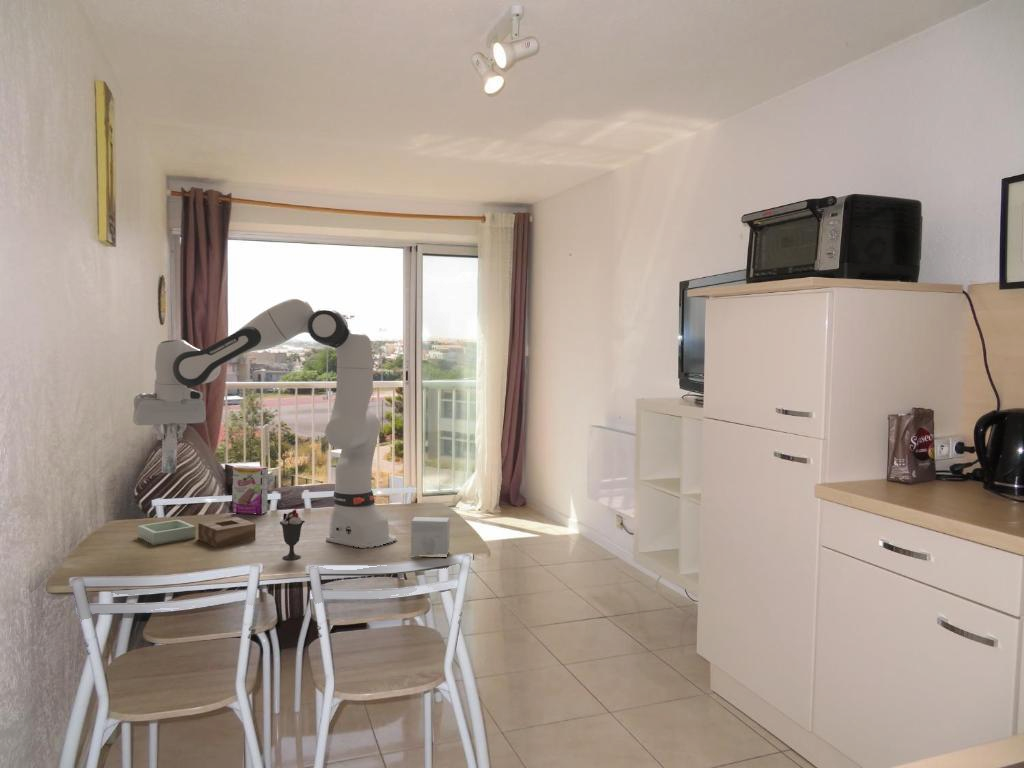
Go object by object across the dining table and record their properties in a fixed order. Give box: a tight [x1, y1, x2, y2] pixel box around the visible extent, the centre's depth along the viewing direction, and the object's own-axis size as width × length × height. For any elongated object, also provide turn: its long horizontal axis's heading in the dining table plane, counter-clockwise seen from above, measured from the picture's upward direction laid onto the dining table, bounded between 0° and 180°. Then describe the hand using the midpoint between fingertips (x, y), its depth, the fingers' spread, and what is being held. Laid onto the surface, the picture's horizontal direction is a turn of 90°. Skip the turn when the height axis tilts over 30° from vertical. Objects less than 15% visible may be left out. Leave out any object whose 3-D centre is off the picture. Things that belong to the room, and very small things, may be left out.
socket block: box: [197, 516, 257, 548], centre depth 213 cm, size 12×12×5 cm
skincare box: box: [410, 516, 451, 557], centre depth 203 cm, size 10×6×10 cm, turn 89°
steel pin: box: [161, 423, 178, 474], centre depth 213 cm, size 4×4×15 cm
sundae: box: [279, 504, 305, 561], centre depth 196 cm, size 7×7×15 cm
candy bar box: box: [231, 465, 269, 515], centre depth 248 cm, size 11×5×16 cm, turn 84°
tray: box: [137, 519, 197, 546], centre depth 214 cm, size 12×12×4 cm
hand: (169, 439), depth 213 cm, fingers closed on steel pin, 4 cm apart
